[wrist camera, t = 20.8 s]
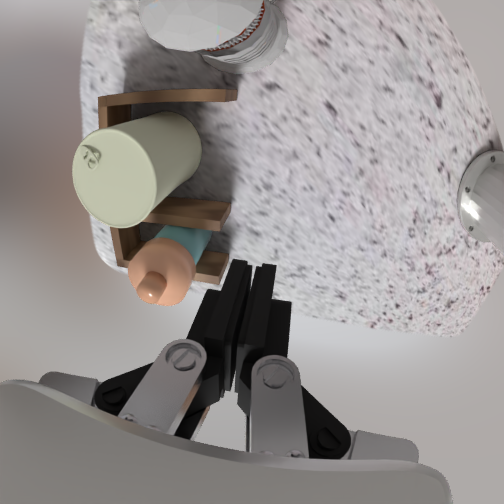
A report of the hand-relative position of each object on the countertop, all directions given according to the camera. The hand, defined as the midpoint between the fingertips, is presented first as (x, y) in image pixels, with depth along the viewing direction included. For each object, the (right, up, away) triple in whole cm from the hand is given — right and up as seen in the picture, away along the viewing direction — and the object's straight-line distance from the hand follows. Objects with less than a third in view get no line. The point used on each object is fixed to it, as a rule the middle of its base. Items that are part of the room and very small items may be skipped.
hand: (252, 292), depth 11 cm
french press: (0, +25, +11) cm, 27 cm away
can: (-10, +14, +20) cm, 26 cm away
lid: (-9, 0, +18) cm, 20 cm away
